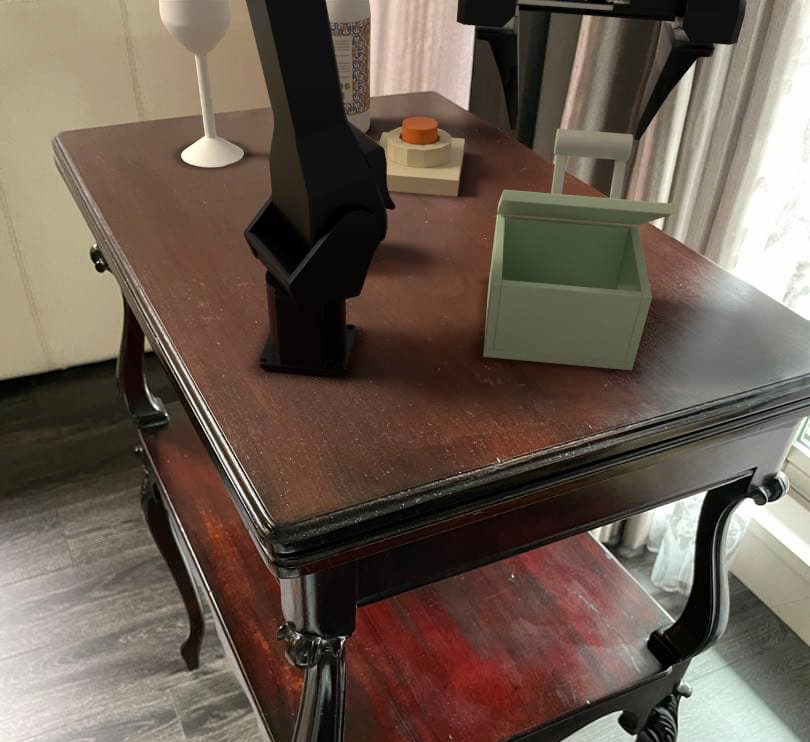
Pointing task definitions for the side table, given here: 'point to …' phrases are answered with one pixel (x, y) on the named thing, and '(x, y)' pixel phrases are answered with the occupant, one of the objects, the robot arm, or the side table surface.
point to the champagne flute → (202, 69)
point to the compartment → (566, 292)
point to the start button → (419, 131)
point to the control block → (423, 164)
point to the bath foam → (353, 56)
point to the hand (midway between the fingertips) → (574, 133)
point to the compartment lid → (584, 206)
